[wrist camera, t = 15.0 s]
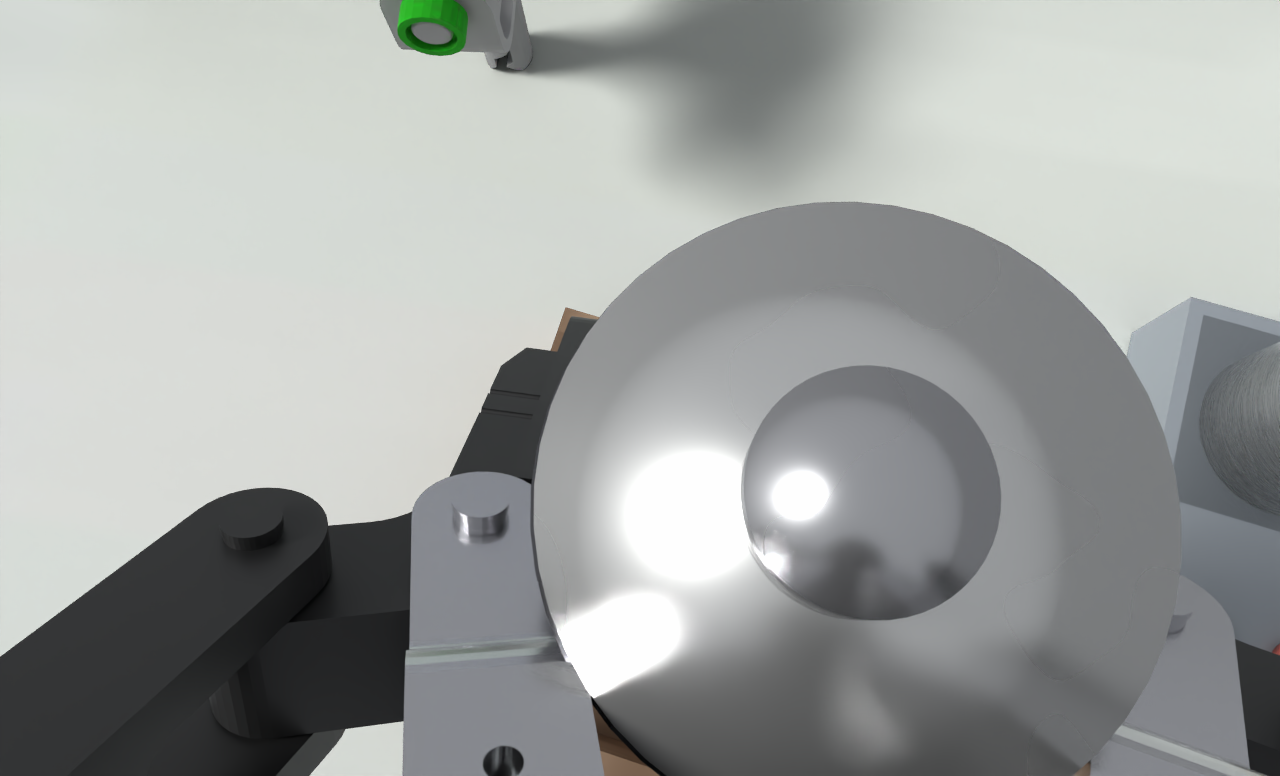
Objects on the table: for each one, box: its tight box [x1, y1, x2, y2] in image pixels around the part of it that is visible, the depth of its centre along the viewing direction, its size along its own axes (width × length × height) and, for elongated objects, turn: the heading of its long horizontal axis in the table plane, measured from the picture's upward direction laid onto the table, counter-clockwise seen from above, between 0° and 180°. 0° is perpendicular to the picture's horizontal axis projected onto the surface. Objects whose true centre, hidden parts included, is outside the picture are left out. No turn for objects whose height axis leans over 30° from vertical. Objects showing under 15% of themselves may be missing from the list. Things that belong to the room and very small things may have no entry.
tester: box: [1127, 297, 1280, 655], centre depth 26 cm, size 6×16×4 cm, turn 162°
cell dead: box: [530, 202, 1182, 776], centre depth 11 cm, size 4×4×11 cm
